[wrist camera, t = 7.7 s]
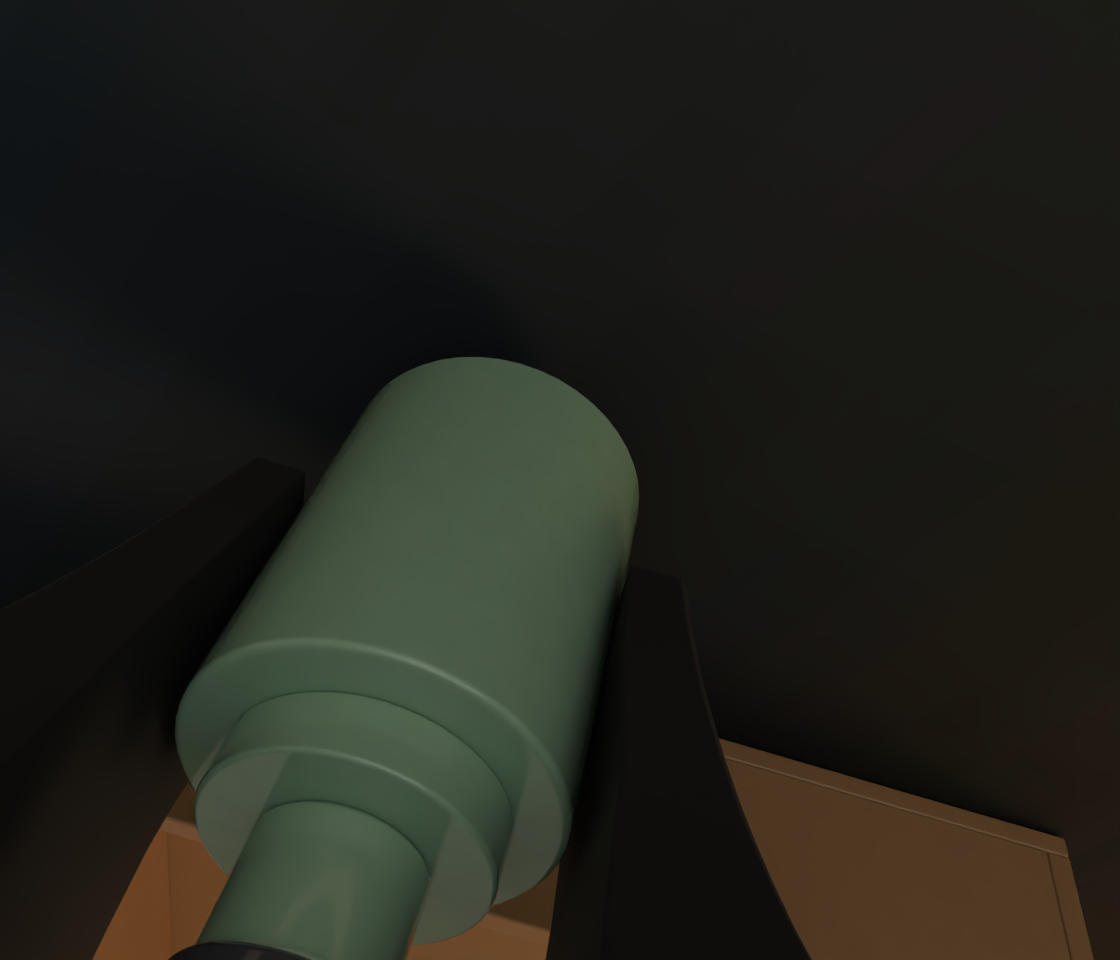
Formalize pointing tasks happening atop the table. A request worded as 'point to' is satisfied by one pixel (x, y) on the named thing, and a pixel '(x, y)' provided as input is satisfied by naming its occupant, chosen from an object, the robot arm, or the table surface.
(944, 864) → the carton
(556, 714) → the bottle
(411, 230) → the table surface
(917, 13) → the table surface
